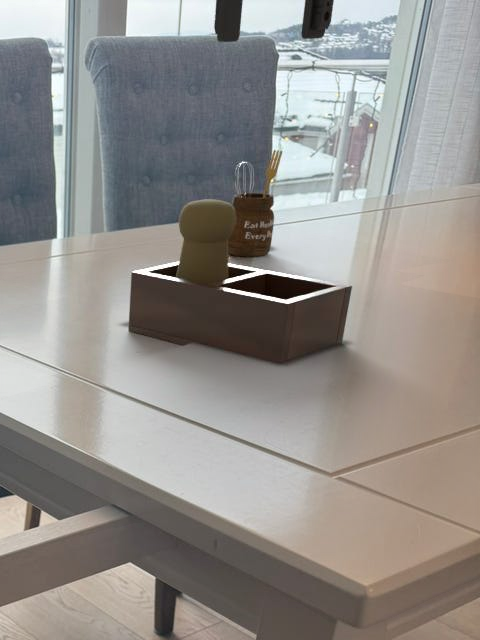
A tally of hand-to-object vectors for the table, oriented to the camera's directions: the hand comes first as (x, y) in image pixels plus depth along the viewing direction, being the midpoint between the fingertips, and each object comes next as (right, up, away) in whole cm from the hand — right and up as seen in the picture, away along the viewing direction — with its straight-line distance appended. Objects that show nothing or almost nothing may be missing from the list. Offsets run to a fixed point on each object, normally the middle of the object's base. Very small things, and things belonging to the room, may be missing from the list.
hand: (268, 40), depth 78 cm
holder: (0, -21, +12) cm, 24 cm away
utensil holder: (+11, +1, +47) cm, 48 cm away
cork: (-3, -19, +14) cm, 24 cm away
